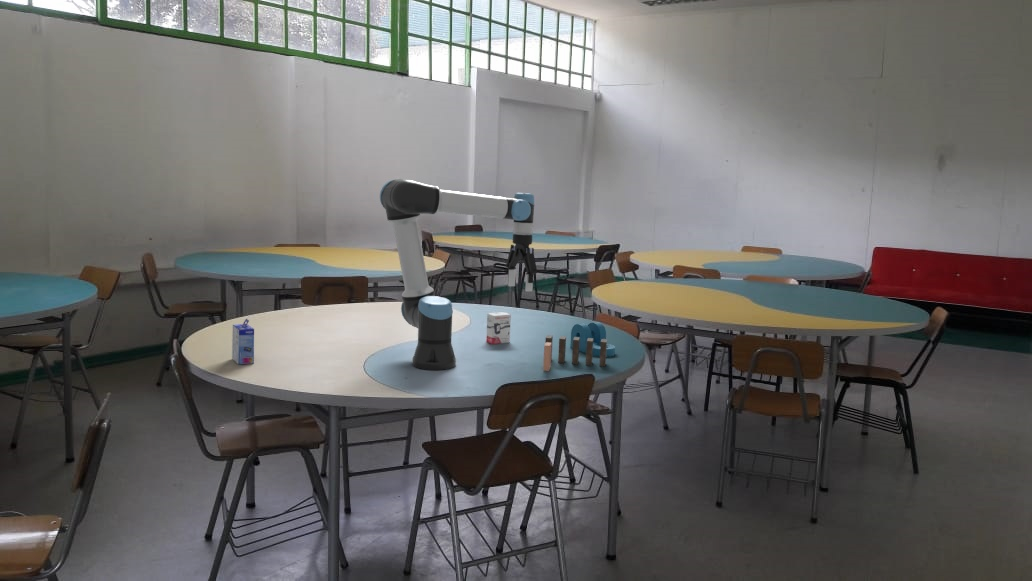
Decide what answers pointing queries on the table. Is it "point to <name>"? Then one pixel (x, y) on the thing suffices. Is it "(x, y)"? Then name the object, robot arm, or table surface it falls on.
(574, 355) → the tile
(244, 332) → the ink cartridge box
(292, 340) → the table surface
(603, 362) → the tile
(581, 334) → the camera mount
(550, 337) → the tile
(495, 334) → the ink box
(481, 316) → the table surface
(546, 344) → the tile
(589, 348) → the tile
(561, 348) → the tile
